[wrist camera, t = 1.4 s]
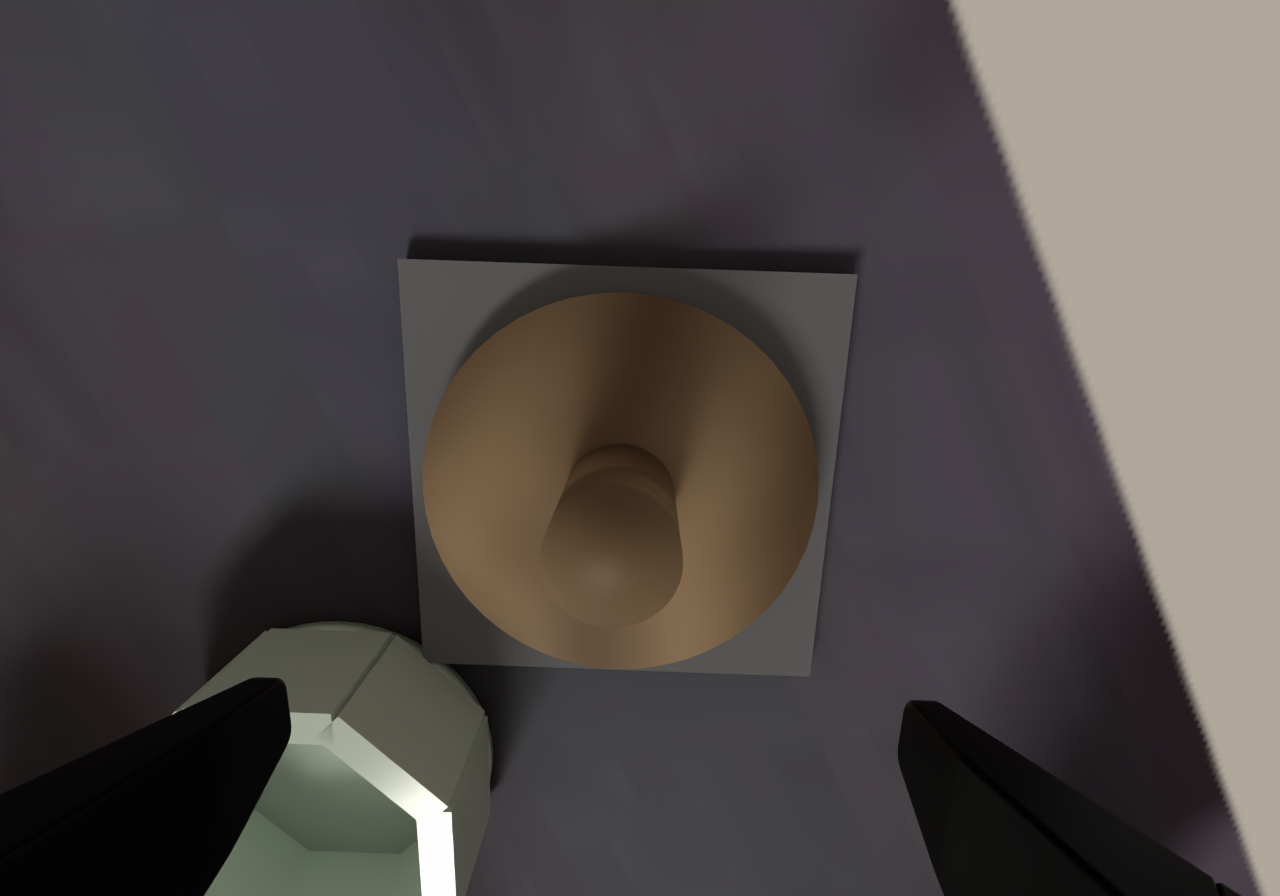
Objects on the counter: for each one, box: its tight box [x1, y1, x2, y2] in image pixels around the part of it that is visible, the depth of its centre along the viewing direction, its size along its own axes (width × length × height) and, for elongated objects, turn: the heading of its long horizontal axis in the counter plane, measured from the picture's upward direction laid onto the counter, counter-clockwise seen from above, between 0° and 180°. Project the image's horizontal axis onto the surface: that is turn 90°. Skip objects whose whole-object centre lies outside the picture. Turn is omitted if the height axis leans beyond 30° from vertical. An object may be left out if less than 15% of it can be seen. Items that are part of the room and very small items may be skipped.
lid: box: [423, 292, 819, 669], centre depth 16 cm, size 12×12×6 cm
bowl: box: [173, 621, 493, 896], centre depth 20 cm, size 10×10×5 cm
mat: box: [397, 259, 858, 677], centre depth 19 cm, size 13×13×1 cm
